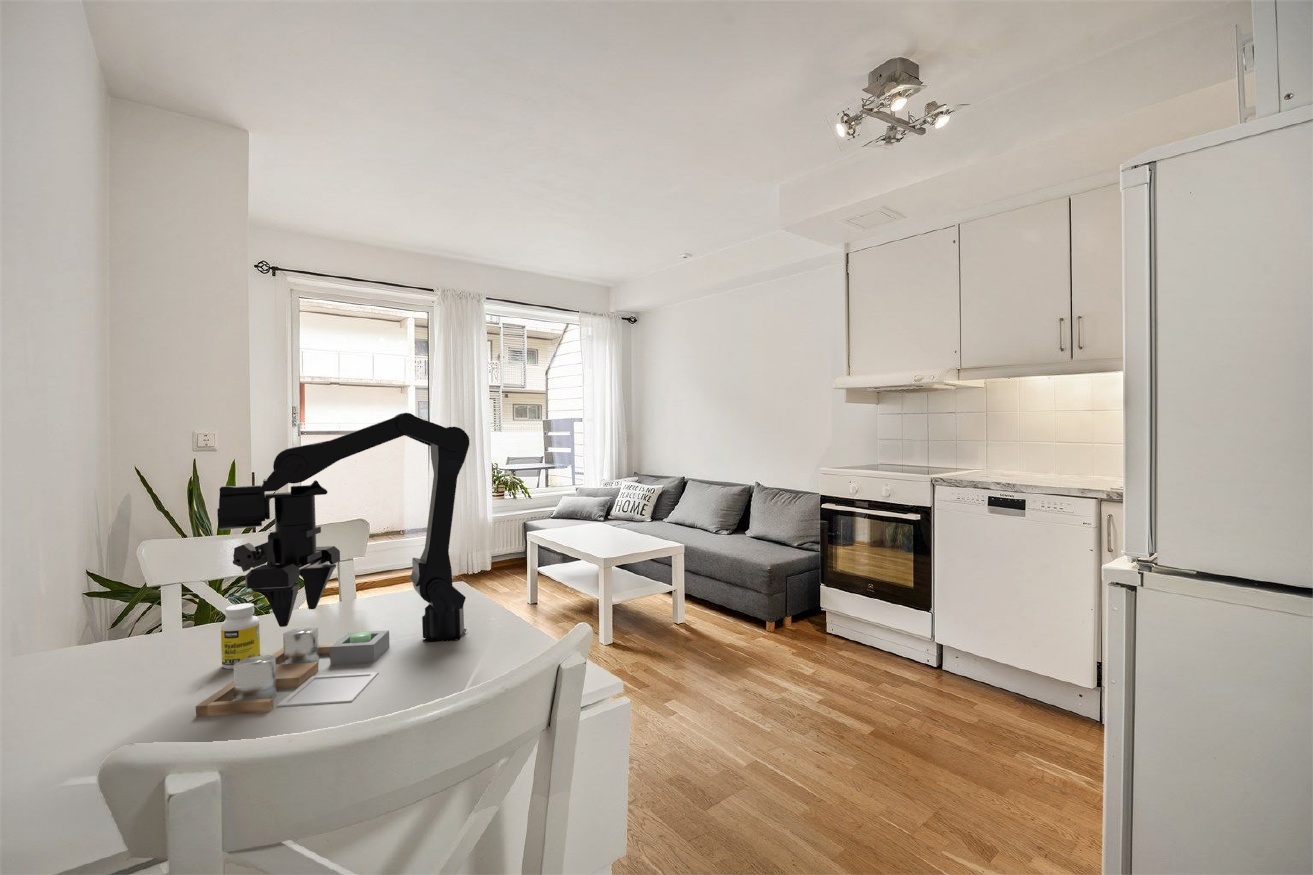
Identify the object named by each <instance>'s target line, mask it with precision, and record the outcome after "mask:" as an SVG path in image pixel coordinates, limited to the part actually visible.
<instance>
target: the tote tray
mask: <svg viewBox="0 0 1313 875" xmlns="http://www.w3.org/2000/svg"><path fill="white" fill-rule="evenodd" d="M377 676H379V671H370V672H369V671H368V672H355V673H337V674H336V673H335V674H323V675H322V674H319V675H313V676H312V677H310V678H309V679H308V680H307V681H306V682H304V683H303V684H302V685H301V686H300V687H296V688H295V690H293V691H292V692H291V693H290V694H288V695H287V696H286V697H285V698H284V699H283V700H281V701H280V702H279V703H278V704H277V706H276V707H277V708H279V707H280V708H281V707H283V708H284V707H296V706H312V705H313V706H314V705H315V706H316V705H326V704H327V705H329V704H331V705H332V704H343V703H346V704H347V703H352V702H354V700H356V699H357V697H358V696H359V695H360V694H361V693H362V692H363V691H364V690H365V688H366V687H368V685H369V684H371V682H372V681H373V680H374V679H375V678H376V677H377Z"/></svg>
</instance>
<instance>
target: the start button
mask: <svg viewBox="0 0 1313 875" xmlns="http://www.w3.org/2000/svg"><path fill="white" fill-rule="evenodd" d="M359 632H360V633H356V634H353V635H351V636H350V643H362V642H369V641H371V633H370V632H368V631H359Z"/></svg>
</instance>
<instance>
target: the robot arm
mask: <svg viewBox="0 0 1313 875" xmlns="http://www.w3.org/2000/svg"><path fill="white" fill-rule="evenodd" d="M405 436H406V437H408V438H410V439H412V440H415V441H417V442H419V443H421V444H424V445H426V446H429V449H430V460H431V465H432V471H433V479H432V487H431V496H430V502H429V511H428V521H427V528H426V536H425V537H426V538H425V544H424V549H423V551H422V554H421V556H420V558H417V557H412V560H411V562H412V565H411V566H412V570H411V574H410V576H409V580H410V581H411V583H412V587H413V589H414V590H415V591H416V593H417V594H418V595H419V596H420V597H421V598H422V600H423V601H425V602H426V603H428V604H427V606H426V607H424V614H423V615H422V616H421V622H422V628H421V629H422V638H423V641H422V643H424V644H425V643H438V642H439V643H441V642H457V641H460V640H461V638H464V636H465V635H466V633H467V632H466V631H467V628H465V620H464V618H465V615H464V614H465V613H464V612H465V611H464V605H465V601H466V596H465V595H464V594H462V592H460V590H458V589H457V588H456V587H455V586H453V572H452V565H451V558H450V552H449V550H450V542H451V541H450V540H451V532H452V527H453V526H452V524H453V516H454V508H455V499H456V491H457V483H458V476H459V474H460V471H461V470H462V467H463V465H464V464H465V460H466V457H467V454H468V451H469V447H470V438H469V437H470V436H469V435H468V434H467V432H466V431H465V430H463V429H462V428H460V427H458V426H445V427H444V426H442V425H439V424H436V423H434V422H432V421H428V420H426V419H423V418H420V417H418V416H416V415H415V414H412V412H411V413H410V412H402V413H398V414H396V415H395V416H394V417H391V418H389V419H386V420H383V421H380V422H377V423H375V424H371V425H369V426H366V427H363V428H361V429H358V430H354V431H352V432H349V433H346V434H344V435H342V436H341V435H340V436H339V437H335V438H333V439H331V440H330V439H329V440H325V441H321V442H320V441H319V442H314V443H308V444H305V445H299V446H294V447H289V448H285V449H284V450H282V451H280V452H279V453H278V454H276V456H275V458H274V461H273V465H272V466H273V471H272V472H271V473H270V475H269V476H268V477H267V478H264V479H263V481H262V484H261V485H247V486H246V485H244V486H243V485H242V486H233V485H222V486H221V487H220V488H219V499H218V508H217V510H216V511H217V512H216V513H217V526H218V530H219V531H223V530H224V531H225V530H236V529H249V528H258V527H263V522H266V520H271V504H270V501H271V500H270V499H273V500H274V501H273V502H274V524H275V529H274V531H270V532H269V534H268V535H267V541H266V542H264V543H261V544H258V545H256V546H254V545H253V544H252V543H250V542H247V543H244V544H241V545H239V546H236V547H234V548H233V554H232V556H233V560H232V565H234V566H237V567H240V568H241V570H242V572H244V573H245V572H247V571H248V573H247V574H246V575H245V576H244V578H245V582H244V583H245V589H249V590H251V591H252V592H253V593H259V594H260V595H262V596H264V597H265V598H266V600H267V602H268V604H269V606H270V608H271V610H272V611H271V612H272V613H273V615H274V618H275V619H276V622H277V624H278V627H280V628H285V627H287V626H288V625H289V622H290V620H291V617H292V615H293V614H292V613H293V611H294V607H295V603H296V600H297V596H298V593H299V589H300V587H301V586H300V585H301V582H298V581H299V578H300V577H301V578H302V579H303V586H304V587H303V588H304V591H305V593H304V594H305V598H306V603H307V609H308V610H315V609H317V606H318V604H319V602H320V601H321V597H322V596H323V593H324V591H325V589H326V587H327V585H328V583H329V580H330V579H331V576H332V575H333V572H334V570H335V569H336V568H337V563H338V562H341V551H340V549H338V548H337V547H336V546H335V545H329V546H328V545H327V546H326V545H325V546H324V545H323V546H317V534H321V533H322V526H316V524H317V523H316V520H317V519H316V497H315V496H322V495H327V494H328V490H327V489H326V488H325V487H323V486H322V485H320V483H319V481H318V480H316V479H315V480H314V481H313V482H311V484H308V485H305V484H304V485H292V486H290V492H289V491H287V492H277V493H266V492H276V491H279V490H280V489H281V488H283V487H285V486H286V485H288V484H299V483H302V482H305V481H306V480H309V479H311V478H312V477H314V476H316V475H317V474H319V473H320V472H322V471H324V470H326V469H327V468H329V467H330V466H332V465H334V464H336V463H337V462H339V461H341V460H342V459H345V458H348V457H351V456H354V455H357V454H358V453H359V454H360V453H361V452H364V451H366V450H369V449H372V448H375V447H377V446H380V445H383V444H385V443H387V442H390V441H393V440H396V439H398V438H402V437H405ZM465 632H466V633H465ZM463 635H464V636H463Z"/></svg>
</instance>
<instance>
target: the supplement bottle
mask: <svg viewBox="0 0 1313 875" xmlns="http://www.w3.org/2000/svg"><path fill="white" fill-rule="evenodd" d="M254 613H255V604H254V603H251V602H246V603H245V602H244V603H238V604H233V605H229V606H227V607H226V608H225V615H224V616H225V618H226V620H224V621H223V622H222V623H221V625H220V642H221V644H220V645H221V648H220V649H221V651H220V652H221V653H220V654H221V666H222V668H224V669H227V670H234V664H236V663H237V662H239V661H241V660H244V659H247V658H251V657H255V656H261V635H260V634H261V633H260V632H261V631H260V630H261V629H260V619H259V617H257V616H256V615H254Z"/></svg>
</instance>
